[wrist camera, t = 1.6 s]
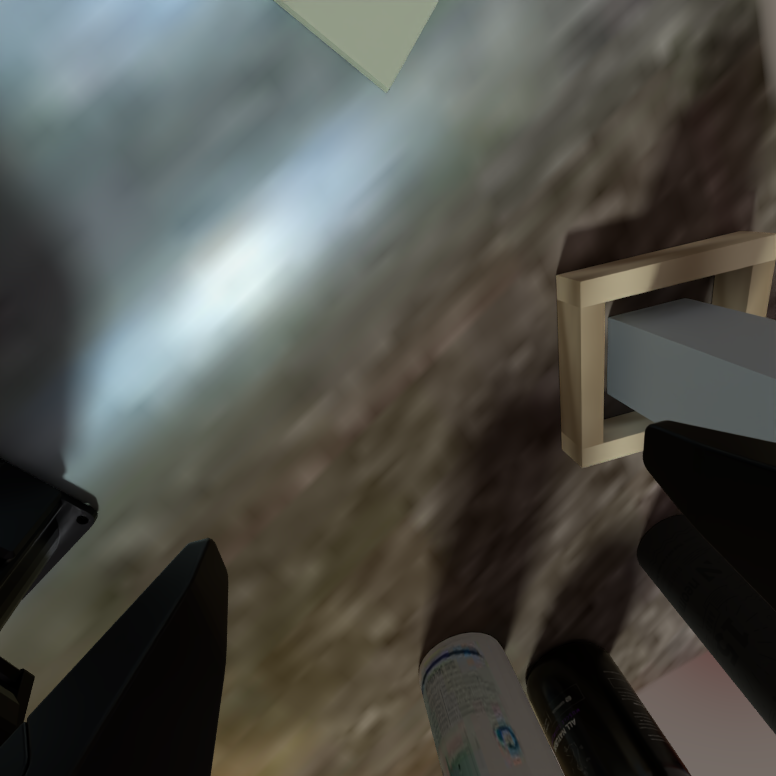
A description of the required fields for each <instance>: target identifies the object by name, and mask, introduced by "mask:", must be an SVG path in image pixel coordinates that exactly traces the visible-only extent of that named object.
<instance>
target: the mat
mask: <svg viewBox="0 0 776 776" xmlns="http://www.w3.org/2000/svg"><path fill="white" fill-rule="evenodd" d="M274 1H275V2H276V3H277V4H278V5H280V6H281V7H282V8H283V9H285V10H286V11H287V12H288V13H289V14H291V15H292V16H293V17H294V18H295V19H297V20H298V21H299V22H300V23H302V24H303V25H304V26H305V27H306V28H308V29H309V30H310V31H311V32H312V33H314V34H315V35H316V36H317V37H319V38H320V39H321V40H322V41H323V42H325V43H326V44H327V45H328V46H330V47H331V48H332V49H333V50H334V51H336V52H337V53H338V54H339V55H340V56H342V57H343V58H344V59H345V60H347V61H348V62H349V63H350V64H351V65H353V66H354V67H355V68H356V69H358V70H359V71H360V72H361V73H362V74H364V75H365V76H366V77H367V78H368V79H370V80H371V81H372V82H373V83H375V84H376V85H377V86H378V87H379V88H381V89H382V90H383V91H384V92H386V93H387V92H388V90H389V89H390V87H391V85H392V84H393V82H394V80H395V78H396V76H397V75H398V73H399V71H400V69H401V67H402V66H403V64H404V62H405V60H406V58H407V57H408V55H409V53H410V51H411V49H412V48H413V46H414V44H415V42H416V41H417V39H418V37H419V35H420V33H421V32H422V30H423V28H424V26H425V24H426V23H427V21H428V19H429V17H430V15H431V14H432V12H433V10H434V8H435V6H436V5H437V3H438V1H439V0H274Z"/></svg>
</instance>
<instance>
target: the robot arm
mask: <svg viewBox="0 0 776 776" xmlns="http://www.w3.org/2000/svg"><path fill="white" fill-rule="evenodd" d="M643 462H644V465H645V467H646V469H647V470H648V471H649V473H650V474H651V475H652V476H653V478H654V479H655V480H656V481H657V483H658V484H659V485H660V486H661V487H662V489H663V490H664V491H665V492H666V494H667V495H668V496H669V497H670V499H671V500H672V501H673V502H674V504H675V505H676V506H677V507H678V509H679V510H680V511H681V512H682V513H683V515H684V516H685V517H686V518H687V520H688V521H689V522H690V523H691V524H692V525H693V527H694V528H695V529H696V530H697V531H698V532H699V533H700V534H701V535H702V536H703V537H704V538H705V539H706V540H707V541H708V542H709V544H710V545H711V546H712V547H713V548H714V549H715V550H716V551H717V552H718V553H719V554H720V555H721V556H722V557H723V558H724V559H725V560H726V561H727V562H728V563H729V564H730V565H731V566H732V567H733V568H734V569H735V570H736V571H737V572H738V573H739V574H740V575H741V576H742V577H743V578H744V579H745V580H746V581H747V582H748V584H749V585H750V586H751V587H752V588H753V589H754V590H755V591H756V592H757V593H758V594H759V595H760V596H761V597H762V598H763V599H764V600H765V601H766V602H767V603H768V604H769V605H770V606H771V607H772V608H773V609H774V610H775V611H776V443H775V442H771V441H766V440H761V439H756V438H752V437H747V436H742V435H737V434H732V433H728V432H723V431H718V430H713V429H708V428H704V427H699V426H694V425H689V424H684V423H680V422H675V421H670V420H664V421H660V422H656V423H652V424H649V425H648V426H647V427H646V429H645V434H644V447H643ZM81 516H86V517H87V518H88V519H83V518H82V517H81ZM97 517H98V514H97V512H96V510H95V509H93V508H92V507H90V506H88V505H86V504H84V503H83V502H81V501H79V500H77V499H75V498H73V497H71V496H69V495H68V494H66V493H64V492H62V491H60V490H58V489H56V488H55V487H53V486H51V485H49V484H47V483H45V482H43V481H42V480H40V479H38V478H36V477H34V476H32V475H30V474H29V473H27V472H25V471H23V470H21V469H19V468H17V467H16V466H14V465H12V464H10V463H8V462H6V461H4V460H2V459H1V458H0V631H1V629H2V628H3V626H4V625H5V623H6V622H7V620H8V619H9V618H10V616H11V615H12V613H13V612H14V610H15V609H16V607H17V606H18V604H19V603H20V601H21V600H22V599H23V598H24V597H25V596H26V595H27V594H28V593H29V592H30V591H31V590H32V589H33V588H34V587H35V586H36V585H37V584H38V583H39V581H40V580H41V579H42V578H43V577H44V576H45V575H46V574H47V573H48V572H49V571H50V570H51V569H52V568H53V567H54V566H55V565H56V563H57V562H58V561H59V560H60V559H61V558H62V557H63V556H64V555H65V554H66V553H67V552H68V551H69V550H70V549H71V548H72V547H73V545H74V544H75V543H76V542H77V541H78V540H79V539H80V538H81V537H82V536H83V535H84V534H85V533H86V532H87V531H88V530H89V529H90V527H91V526H92V525H93V524H94V522H95V521H96V519H97ZM227 615H228V574H227V570H226V567H225V565H224V562H223V560H222V558H221V555H220V553H219V551H218V548H217V546H216V544H215V542H214V541H213V540H212V539H210V538H206V539H202V540H198V541H195V542H191V543H189V544H188V545H187V546H186V547H185V548H184V549H183V550H182V551H181V552H180V553H179V554H178V555H177V556H176V557H175V558H174V560H173V561H172V562H171V563H170V564H169V565H168V566H167V567H166V568H165V569H164V570H163V571H162V572H161V574H160V575H159V576H158V577H157V578H156V579H155V580H154V581H153V582H152V583H151V584H150V585H149V587H148V588H147V589H146V590H145V591H144V592H143V593H142V594H141V595H140V596H139V597H138V598H137V600H136V601H135V602H134V603H133V604H132V605H131V606H130V607H129V608H128V609H127V610H126V611H125V613H124V614H123V615H122V616H121V617H120V618H119V619H118V620H117V621H116V622H115V623H114V624H113V626H112V627H111V628H110V629H109V630H108V631H107V632H106V633H105V634H104V635H103V636H102V637H101V638H100V640H99V641H98V642H97V643H96V644H95V645H94V646H93V647H92V648H91V649H90V650H89V651H88V653H87V654H86V655H85V656H84V657H83V658H82V659H81V660H80V661H79V662H78V663H77V664H76V666H75V667H74V668H73V669H72V670H71V671H70V672H69V673H68V674H67V675H66V676H65V677H64V678H63V680H62V681H61V682H60V683H59V684H58V685H57V686H56V687H55V688H54V689H53V690H52V691H51V693H50V694H49V695H48V696H47V697H46V698H45V699H44V700H43V701H42V702H41V703H40V704H39V705H38V707H37V708H36V709H35V710H34V711H33V712H32V713H31V714H30V715H29V716H28V718H27V722H24V718H25V714H26V710H27V706H28V702H29V698H30V694H31V690H32V686H33V682H34V678H35V676H34V675H32V674H31V673H29V672H28V671H27V670H25V669H20V670H19V669H18V668H16V667H15V666H13V665H12V664H11V663H9V662H8V661H6V660H5V659H3V658H2V657H0V776H211V769H212V761H213V754H214V747H215V740H216V732H217V725H218V718H219V711H220V703H221V696H222V689H223V682H224V674H225V665H226V651H227ZM23 722H24V723H23Z"/></svg>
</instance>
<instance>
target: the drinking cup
mask: <svg viewBox="0 0 776 776" xmlns="http://www.w3.org/2000/svg"><path fill="white" fill-rule="evenodd" d="M637 558H638V562H639V564H640V565H641V567H642V568H643V569H644V571H645V572H646V573H647V574H648V576H649V577H650V578H651V579H652V581H653V582H654V583H655V584H656V586H657V587H658V588H659V589H660V591H661V592H662V593H663V594H664V596H665V597H666V598H667V599H668V601H669V602H670V603H671V604H672V606H673V607H674V608H675V609H676V611H677V612H678V613H679V614H680V616H681V617H682V618H683V619H684V620H685V622H686V623H687V624H688V625H689V627H690V628H691V629H692V630H693V632H694V633H695V634H696V635H697V637H698V638H699V639H700V640H701V642H702V643H703V644H704V645H705V647H706V648H707V649H708V650H709V652H710V653H711V654H712V655H713V657H714V658H715V659H716V660H717V662H718V663H719V664H720V665H721V667H722V668H723V669H724V670H725V672H726V673H727V674H728V675H729V677H730V678H731V679H732V680H733V682H734V683H735V684H736V685H737V687H738V688H739V689H740V690H741V691H742V693H743V694H744V695H745V697H746V698H747V699H748V700H749V702H750V703H751V704H752V705H753V706H754V708H755V709H756V710H757V712H758V713H759V714H760V715H761V716H762V718H763V719H764V720H765V722H766V723H767V724H768V725H769V727H770V728H771V729H772V730H773V731H774V733H775V734H776V611H775V610H774V609H773V608H772V607H771V606H770V605H769V604H768V603H767V602H766V601H765V600H764V599H763V598H762V597H761V596H760V595H759V594H758V593H757V592H756V591H755V590H754V589H753V588H752V587H751V586H750V585H749V584H748V582H747V581H746V580H745V579H744V578H743V577H742V576H741V575H740V574H739V573H738V572H737V571H736V570H735V569H734V568H733V567H732V566H731V565H730V564H729V563H728V562H727V561H726V560H725V559H724V558H723V557H722V556H721V555H720V554H719V553H718V552H717V551H716V550H715V549H714V548H713V547H712V546H711V545H710V544H709V542H708V541H707V540H706V539H705V538H704V537H703V536H702V535H701V534H700V533H699V532H698V531H697V530H696V529H695V528H694V527H693V525H692V524H691V523H690V522H689V521H688V520H687V518H686V517H685V516H684V515H678V516H673V517H670V518H667V519H665V520H663V521H661V522H660V523H658V524H657V525H655V526H654V527H653V528H652V529H651V530H649V532H648V533H647V534H646V535H645V536H644V538H643V539H642V541H641V543H640V545H639V548H638V552H637Z"/></svg>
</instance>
